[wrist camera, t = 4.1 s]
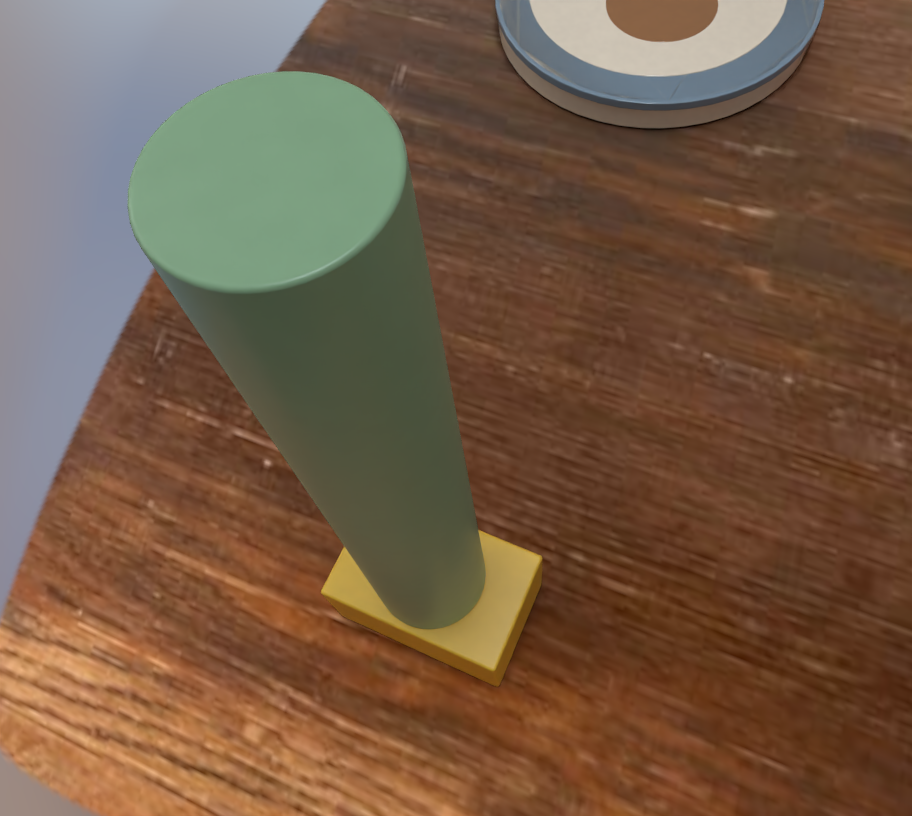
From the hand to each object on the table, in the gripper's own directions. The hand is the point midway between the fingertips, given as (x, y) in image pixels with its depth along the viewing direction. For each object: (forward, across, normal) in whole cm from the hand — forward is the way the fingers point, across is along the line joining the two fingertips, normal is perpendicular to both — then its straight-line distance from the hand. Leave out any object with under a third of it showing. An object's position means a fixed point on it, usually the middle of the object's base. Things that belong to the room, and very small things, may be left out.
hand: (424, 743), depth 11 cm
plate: (+32, +15, +10) cm, 37 cm away
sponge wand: (+15, 0, -7) cm, 17 cm away
